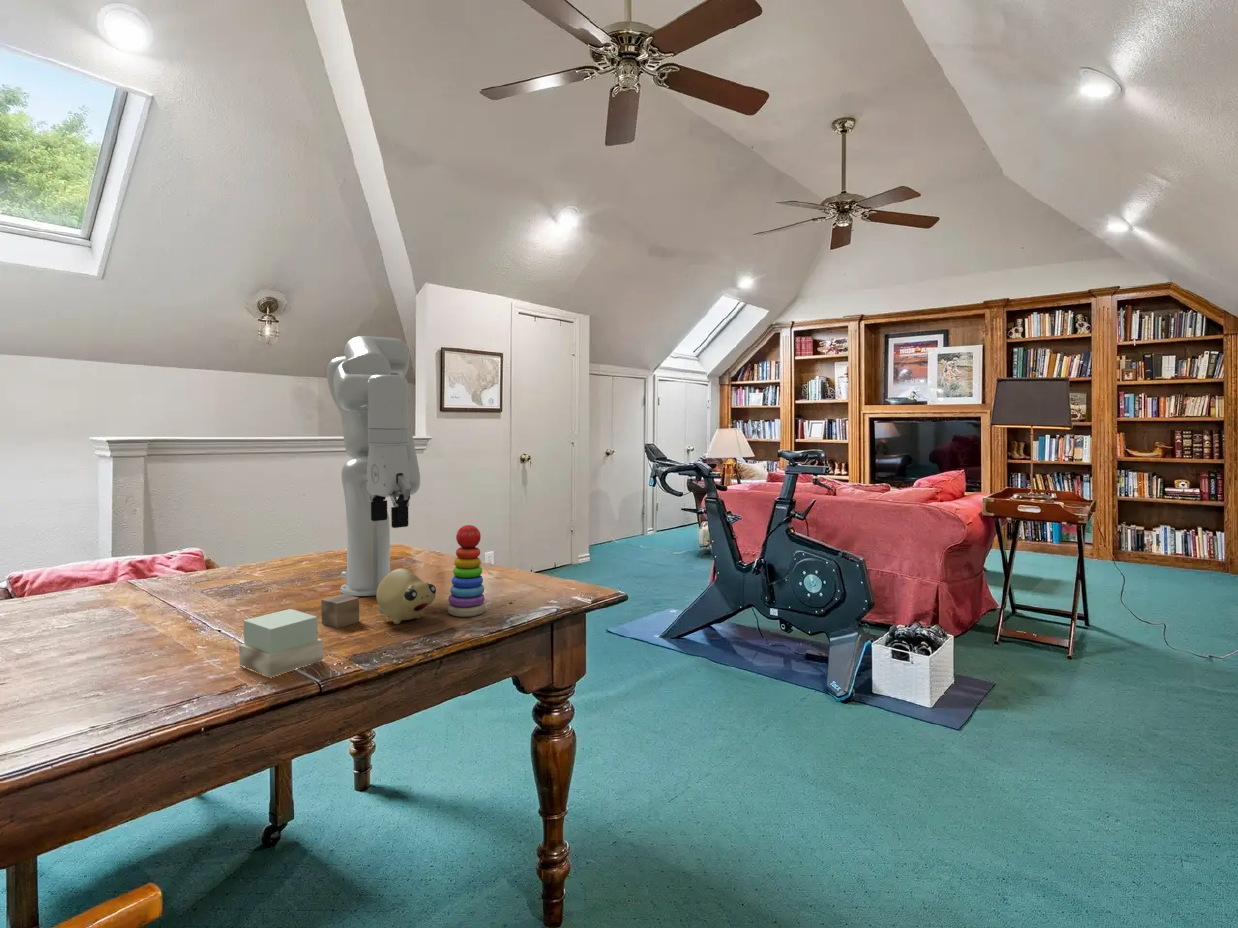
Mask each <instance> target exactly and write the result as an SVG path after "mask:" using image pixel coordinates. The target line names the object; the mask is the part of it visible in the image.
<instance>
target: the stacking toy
mask: <svg viewBox="0 0 1238 928" xmlns="http://www.w3.org/2000/svg"><path fill="white" fill-rule="evenodd" d="M455 535H456V536H455V539H456V542H457V544H458V546H460V547H458V548H457V549H456V551H455V554H456V558H455V559H454V561H453V563H454V566H455V567H454V568H453V570H452V571H453V575H454V576H453V577H452V579H451V585H452V586H451V587H450V589H449V590H450V591H449V592H450V595H449V596H448V606H447V612H448V613H449V614H450V615H452V616H455V617H462V618H465V617H466V618H467V617H475V616H479V615H481V614H483V613H484V612H485V611H486V610H487V605H486V603H485V599H486V598H485V594H484V591H485V586H484V585H483V582H484V579H483V576H482V573H483V568H482V567H481V563H482V562H481V561H482V560H481V559H480V555H481V549H480V548H479V547H477V546H478V545H479V543H480V541H481V538H482V537H481V532H480V530H479V529H478V527H476V526H475V525H471V524H467V525H463V526H461V527H459V528H458V530H457V531H456V534H455Z"/></svg>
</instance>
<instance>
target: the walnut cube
mask: <svg viewBox="0 0 1238 928" xmlns="http://www.w3.org/2000/svg"><path fill="white" fill-rule="evenodd" d="M320 602H321V605H320V607H321V608H320V609H321V610H320V611H321V624H322V625H325V626H328V627H332V628H335V629H339V628H343V627H346V626H349V625H353V624H356V623H360V598H359V596H350V595H346V594H343V593H341V594H339V595H334V596H331V597H330V596H329V597H326V598H323V599H321V600H320Z"/></svg>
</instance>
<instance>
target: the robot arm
mask: <svg viewBox="0 0 1238 928" xmlns="http://www.w3.org/2000/svg"><path fill="white" fill-rule="evenodd" d="M343 352H344V356H339V357H335V358H333V359H331V360H330V361H329V363H328V365H327V369H326V378H327V385H328V389H329V391H330V395H331V398H332V400H333V402H334V404H335V406H336V408H337V409H338V412H339V413H340V418H341V426H342V436H343V443H344V449H345V452H346V454H347V455H348V457H350V458H351V459H350V460H348V461H347V462H346V463H344V464H343V466H342V469H341V483H342V488H343V495H344V500H345V514H346V515H345V516H346V517H345V519H346V521H345V522H346V567H347V568H346V570H345V571H341V573H340V577H341V578H345V583H344V584H342V585H341V586H340V588H339V589H340V592H341V594H346V595H350V596H354V597H371V596H372V597H373V596H376V593H377V588H378V586H379V584H380V582H381V581H382V580H383V578H384V577H385V576H386V575H387V574H389V573H390V572H391V547H390V545H391V544H390V543H391V541H390V539H391V536H390V535H391V533H390V532H391V531H390V526H391V528H393V529H399V528H405V527H406V528H407V527H408V526H409V506H410V499H411V496H413V495H415V494H416V493H417V492H418V491H419V489H420V487H421V486H420V485H421V474H420V467H419V463H418V457H417V452H416V445H415V440H414V439H415V438H414V436H413V432H412V431H411V428H409V427H410V426H409V404H410V401H411V389H410V386H409V384H408V383H409V382H408V380H407V378H405V377H406V374H407V372H408V370H409V366H410V357H411V356H410V351H409V348H408V346H407V344H406V343H405V342H404V341H403V340H401V339H400V338H396V337H395V338H394V337H385V336H384V337H383V336H370V335H362V336H355V337H353V338H351V339H350V340H348V341H347V342H346V344H345V346H344V351H343ZM386 498H390V501H391V503H392V507H391V508H390V510H391V511H390V512H391V513H390V516H391V520H390V516H389V512H388V500H386ZM390 523H391V525H390Z"/></svg>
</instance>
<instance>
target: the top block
mask: <svg viewBox="0 0 1238 928" xmlns="http://www.w3.org/2000/svg"><path fill="white" fill-rule="evenodd" d="M318 631H319V627H318V616H316V615H312V614H309V613H306V612H303V611H299V610H297V609H292V608H288V609H285V610H280V611H277V612H271V613H269V614H268V613H267V614H264V615H260V616H256V617H252V618H249V619H248V618H247V619H245V620H243V642H244V643H243V644H246V645H248V646H251V647H254V648H256V649H259V650H262V651H264V652H267V653H270V654H273V653H276V652H279V651H283V650H286V649H289V648H293V647H296V646H299V645H303V644H306V643H309V642H313V641H316V640H318V639H319V636H318V633H319V632H318Z"/></svg>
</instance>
